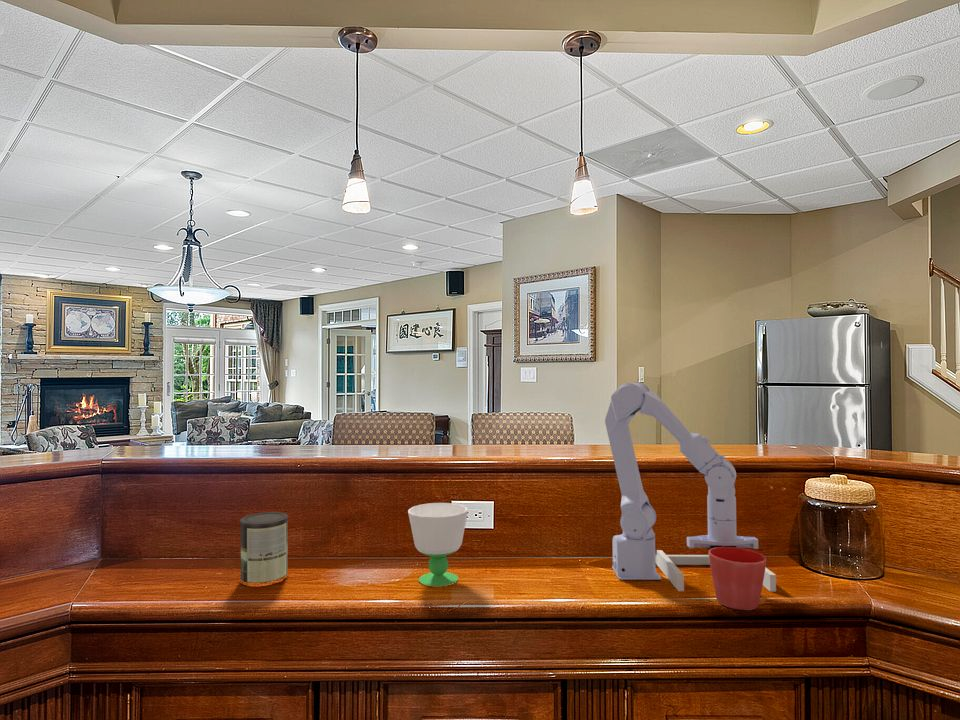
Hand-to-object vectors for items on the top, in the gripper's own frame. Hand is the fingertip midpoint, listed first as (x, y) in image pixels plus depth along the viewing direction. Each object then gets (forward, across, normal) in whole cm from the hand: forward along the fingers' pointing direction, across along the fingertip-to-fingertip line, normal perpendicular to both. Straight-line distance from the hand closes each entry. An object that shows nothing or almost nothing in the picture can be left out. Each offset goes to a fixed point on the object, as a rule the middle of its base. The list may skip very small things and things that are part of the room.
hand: (722, 581), depth 122 cm
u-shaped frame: (+1, 0, -6) cm, 6 cm away
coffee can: (+2, +102, -3) cm, 102 cm away
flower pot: (+2, 0, +8) cm, 8 cm away
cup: (+2, +62, -4) cm, 62 cm away
